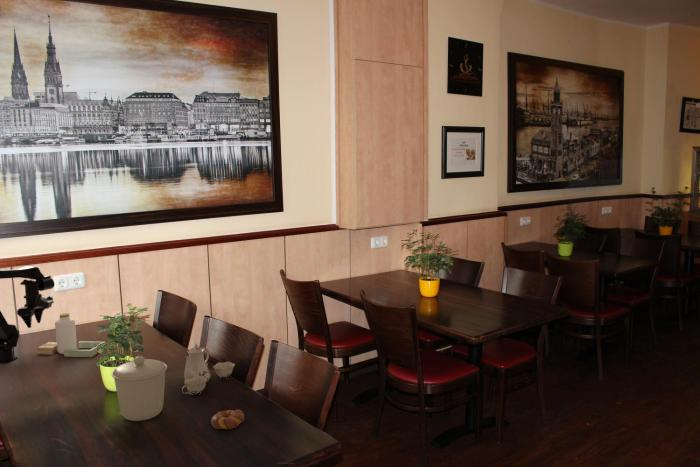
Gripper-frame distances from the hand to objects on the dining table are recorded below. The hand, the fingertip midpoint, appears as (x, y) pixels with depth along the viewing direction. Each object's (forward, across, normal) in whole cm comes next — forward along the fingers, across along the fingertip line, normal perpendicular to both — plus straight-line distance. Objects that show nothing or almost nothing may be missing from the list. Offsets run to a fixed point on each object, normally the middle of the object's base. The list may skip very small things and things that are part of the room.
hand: (34, 325), depth 269 cm
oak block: (+12, -3, -8) cm, 15 cm away
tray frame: (+12, -6, -25) cm, 29 cm away
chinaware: (+13, -52, -88) cm, 103 cm away
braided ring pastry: (+14, -87, -103) cm, 136 cm away
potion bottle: (+12, -5, -16) cm, 21 cm away
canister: (+13, -78, -72) cm, 107 cm away
